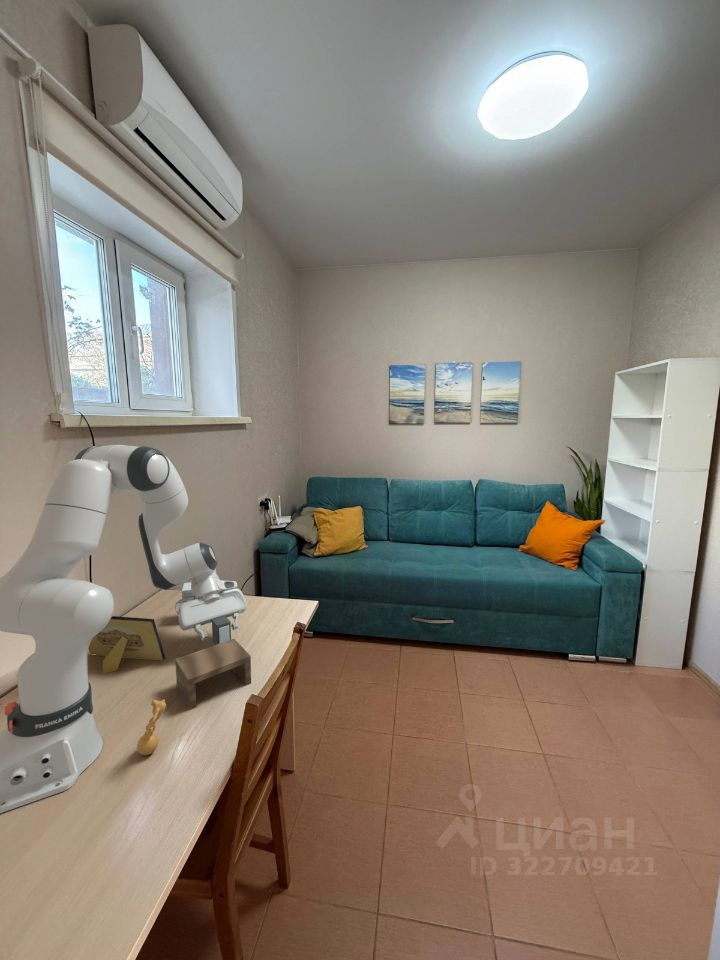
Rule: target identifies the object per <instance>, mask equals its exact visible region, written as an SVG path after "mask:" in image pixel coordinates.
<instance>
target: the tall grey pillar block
mask: <svg viewBox="0 0 720 960" xmlns="http://www.w3.org/2000/svg"><path fill="white" fill-rule="evenodd" d="M231 625H232V623H231V621H230V619H229V618H228V617H227V618H226V617H225V616H223V617H220V618H217V619H213V620H212V622H211V634H212V635H211V636H212V646H214V645H217V644H220V643H223V642H226V641H229V640H232V630H231V629H232V627H231Z"/></svg>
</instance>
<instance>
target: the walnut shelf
mask: <svg viewBox="0 0 720 960" xmlns="http://www.w3.org/2000/svg"><path fill="white" fill-rule="evenodd" d="M251 658H252V657H251V655H250V654H249V652H248V651H247V650H246V649H245V648H244V647H243V646H242V645H241V644H240V643H239V642H238V641H237V640H236V639H235V638H231V640H229V641H226V642H223V643H220V644H217V645H214V646H213V645H211V646H209V647H205V648H203V649H201V650H198V651H195V652H191V653H189V654H186V655H184V656H181V657H177V658H175V677H176V678H175V679H176V688H177V691H178V692H179V694H180V696H181V697H182V699H183V700H184V702H185V703H186V705H187V708H188V710H193V709H195V708H197V696H196V695H197V693H196V692H197V691H196V683H198V682H199V683H200V682H201V681H203V680H204V681H205V680H206V679H208V678H211V677H214V676H217V675H219V674H221V673H224V672H227V671H229V670H231V669H232V671H233V672H234V673H235V674H236V675H237V677H238V678H239V679H240V680H241V681H242V682H243V684H244V686H249V685H250V684H252V665H251V664H252V662H251V661H252V659H251Z"/></svg>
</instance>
